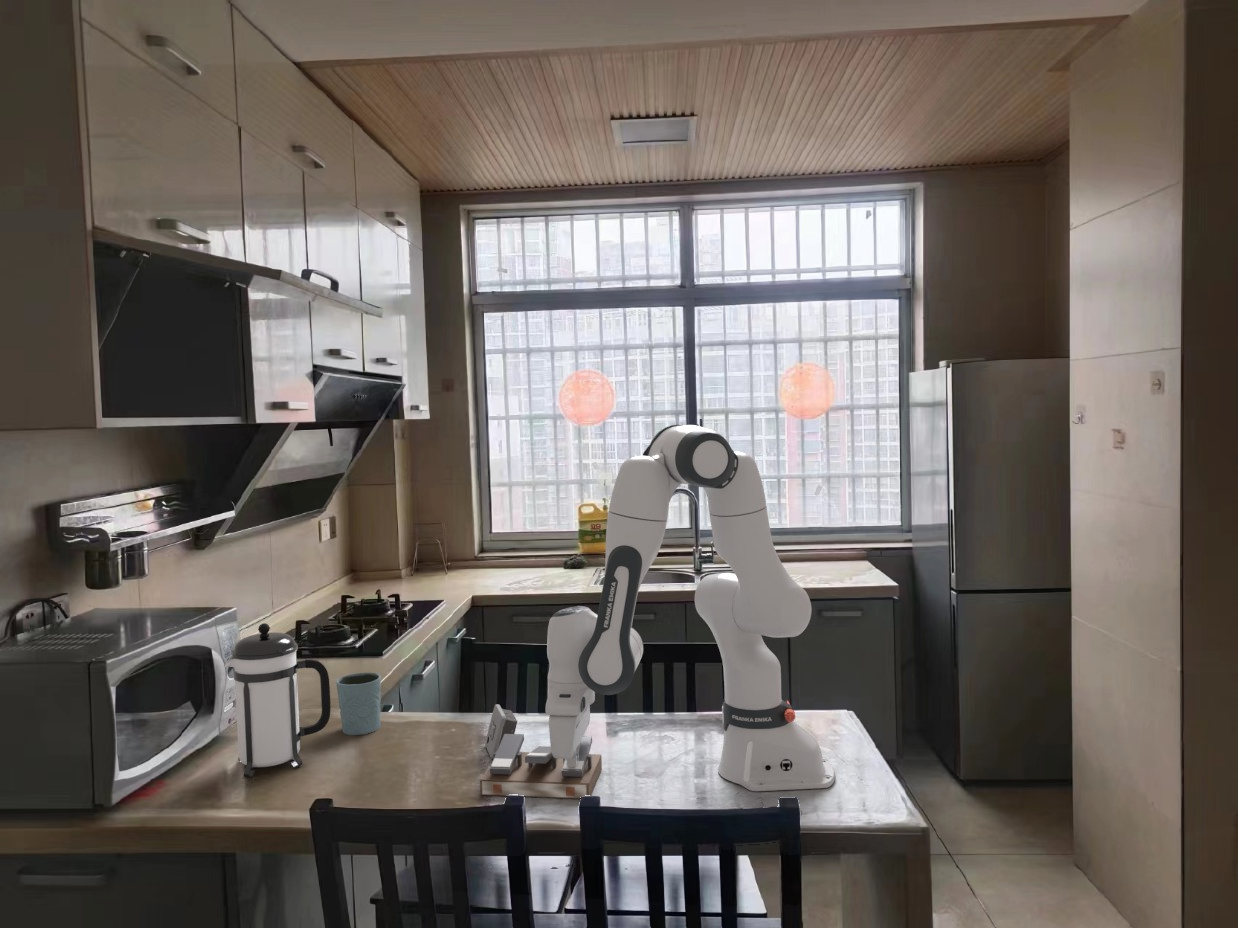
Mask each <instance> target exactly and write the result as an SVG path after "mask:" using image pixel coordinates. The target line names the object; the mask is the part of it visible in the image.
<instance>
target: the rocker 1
mask: <svg viewBox="0 0 1238 928" xmlns="http://www.w3.org/2000/svg"><path fill="white" fill-rule="evenodd" d="M524 742H525V734H524V733H522V734H521V733H519V734H518V733H514V734H504V736H503V739H502V741H501V743H500V746H499V748H498V750H497V753H496V755H495V757H494V759H492V762H491V763H490V765H491V766H490V765H489V767H490V774H511V772H512V770H513V767H514V764H515V762H516V759H517V754H518V753H519V752H521V748H522V746H523V743H524Z"/></svg>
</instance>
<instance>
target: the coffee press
mask: <svg viewBox="0 0 1238 928" xmlns="http://www.w3.org/2000/svg"><path fill="white" fill-rule="evenodd" d="M257 628H258V629H257V630H258V632H259V633H256V634H252V635H249V636H248V635H247V636H246V637H242V639H240V640H238V641H237V642H236V644H235V645H234V647H233V650H232V651H231V655H230V657H229V658H228V659H227V661H226V662H225V665H224V668H233V671H232V672H233V674H232V675H233V680H234V687H235V689H234V690H235V705H236V708H235V709H236V727H237V730H236V731H237V745H238V747H237V749H238V762H239V763H240V764H243V765H245V767H244V770H243V774H242V775H243V778H249V779H250V778H253V777H254V775H255V773H256V771H257V769H260V768H267V767H273V766H277V765H281V764H284V763H289V764H290V765H291V767H293V768H294V769H298V768H299V767H301V766H303V763H304V762H303V760H302V759H301V757H300V755H299V753H300V749H301V739H302V738H301V737H304V736H309V735H312V734H315V733H318V732H320V731H322V730H323V729H324V728H325V727H326V726H327V724H329V723H328V722H329V720H330V717H331V716H330V715H331V706H332V705H331V686H330V678H329V672H328V670H327V667H326V666H325V665H324V664H323V662H320V661H319V660H317V659H311V658H309V659H308V658H307V659H306V658H305V659H303V660H299V661H297V651H298V649H299V648H298V643H297V642H296V640H295V639H294V638H293V636H291V635H289V634H287V633H285V632H284V633H283V632H275V631H274V632H269V631H270V630H271V627H270V625H269V624H268V623H261V624H260V625H259V626H258V627H257ZM300 669H314V670H316V672H318V674H319V678H320V679H319V680H320V700H321V703H320V704H321V705H320V706H321V713H320V714H321V715H320V717H319V719H318V720H317V722H315V723H314V724H311V725H307V726H300V715H299V714H300V713H299V711H300V710H299V690H298V689H299V688H298V671H299V670H300Z"/></svg>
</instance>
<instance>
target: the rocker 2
mask: <svg viewBox="0 0 1238 928" xmlns="http://www.w3.org/2000/svg"><path fill="white" fill-rule="evenodd" d="M592 745H593V735H592V736H591V735H583V737H582V739H581V741H580V747H579V761H578V762H577V765H576V767H568V766H567V759H565V761H564V764H563V767H562V770H561V772H562V776H575V777H583V774H584V770H585V766H586V763H587V759H588V758H587V757H588V755H589V754H590V751H591V748H592Z"/></svg>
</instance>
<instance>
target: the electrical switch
mask: <svg viewBox="0 0 1238 928" xmlns="http://www.w3.org/2000/svg"><path fill="white" fill-rule="evenodd" d="M517 725H518V720H517V718H516V716H515V715H514V712H513V711H512V710H511V709H510V710H509V709H504V708H502V707H501V705H500V704H494V707H493V711H492V713H491V718H490V722H489V726H488V730H487V734H486V739H485V743H484V744H485V745H484V746H485V748H486V750H487V752H488V755H489V758H490V759H492V760H493V759H494V755H493V754H494V753H495V752H497V750H498V748H499V746H500V743H501V741H502V739H503V736H504V734H516V733H515V732H516V729H517Z"/></svg>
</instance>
